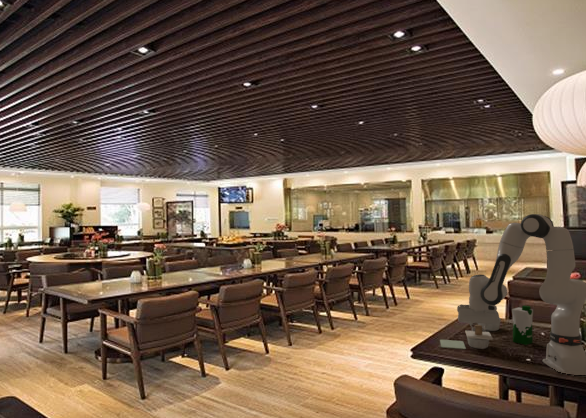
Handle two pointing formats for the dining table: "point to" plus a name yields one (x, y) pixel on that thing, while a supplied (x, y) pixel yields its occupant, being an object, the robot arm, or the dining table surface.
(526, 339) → the milk carton
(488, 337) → the cover
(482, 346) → the ramekin
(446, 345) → the mat
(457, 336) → the dining table surface
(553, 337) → the robot arm
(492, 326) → the ramekin
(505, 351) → the dining table surface
